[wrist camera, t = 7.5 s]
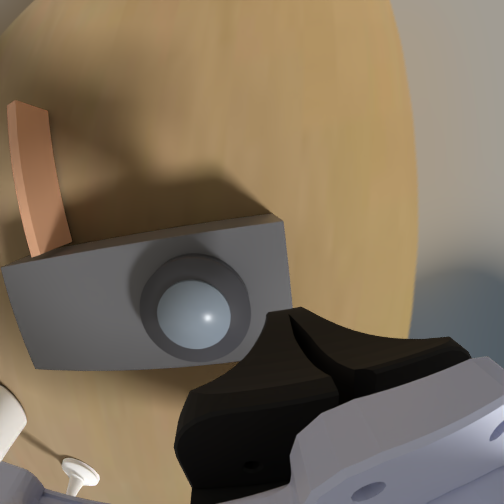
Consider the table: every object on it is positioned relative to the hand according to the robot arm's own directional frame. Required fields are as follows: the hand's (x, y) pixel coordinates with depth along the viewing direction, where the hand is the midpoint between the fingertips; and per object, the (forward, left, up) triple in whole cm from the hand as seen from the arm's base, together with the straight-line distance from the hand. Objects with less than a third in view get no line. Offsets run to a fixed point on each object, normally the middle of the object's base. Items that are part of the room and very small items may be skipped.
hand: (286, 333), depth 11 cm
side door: (+9, +14, -9) cm, 19 cm away
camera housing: (0, +8, -9) cm, 12 cm away
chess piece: (-22, +24, -10) cm, 34 cm away
